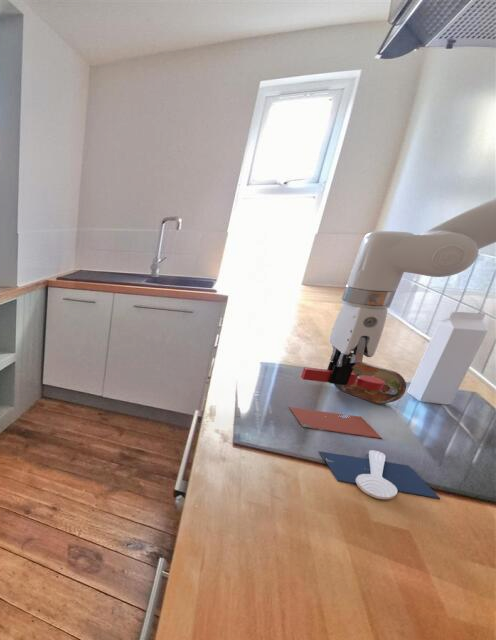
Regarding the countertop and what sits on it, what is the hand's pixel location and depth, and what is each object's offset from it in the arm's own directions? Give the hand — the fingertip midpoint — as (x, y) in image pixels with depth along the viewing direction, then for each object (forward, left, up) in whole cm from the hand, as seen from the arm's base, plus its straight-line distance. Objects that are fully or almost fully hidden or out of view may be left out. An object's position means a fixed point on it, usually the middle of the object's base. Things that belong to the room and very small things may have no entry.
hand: (335, 381), depth 89 cm
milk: (-29, -23, -10) cm, 38 cm away
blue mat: (-2, +21, -10) cm, 23 cm away
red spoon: (-1, 0, 0) cm, 1 cm away
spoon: (-2, +21, -10) cm, 23 cm away
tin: (-14, -19, -10) cm, 26 cm away
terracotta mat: (-2, 0, -10) cm, 10 cm away
